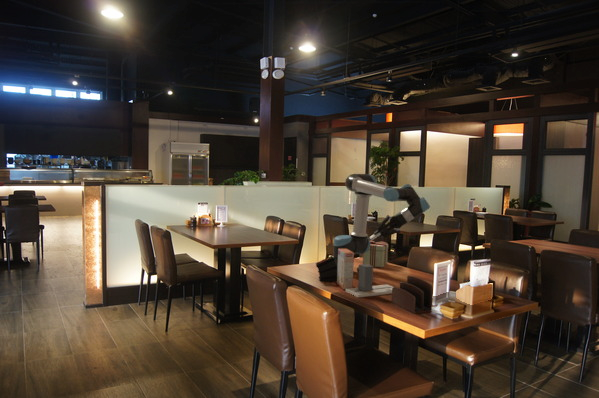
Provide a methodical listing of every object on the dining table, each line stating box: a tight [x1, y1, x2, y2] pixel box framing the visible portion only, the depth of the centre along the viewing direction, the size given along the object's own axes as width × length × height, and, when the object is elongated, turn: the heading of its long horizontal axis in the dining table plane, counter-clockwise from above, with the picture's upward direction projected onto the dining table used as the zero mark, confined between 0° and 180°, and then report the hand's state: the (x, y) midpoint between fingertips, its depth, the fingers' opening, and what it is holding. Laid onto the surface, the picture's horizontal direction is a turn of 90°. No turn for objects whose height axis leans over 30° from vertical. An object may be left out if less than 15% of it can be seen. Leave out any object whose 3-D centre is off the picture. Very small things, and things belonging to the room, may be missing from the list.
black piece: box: [315, 255, 337, 283], centre depth 259 cm, size 4×13×15 cm, turn 99°
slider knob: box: [356, 263, 374, 291], centre depth 235 cm, size 6×6×13 cm
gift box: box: [362, 239, 389, 268], centre depth 310 cm, size 17×18×17 cm
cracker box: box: [336, 249, 355, 291], centre depth 247 cm, size 14×6×21 cm, turn 9°
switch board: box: [345, 283, 394, 298], centre depth 237 cm, size 28×12×2 cm, turn 116°
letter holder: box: [390, 275, 433, 315], centre depth 213 cm, size 10×20×14 cm, turn 20°
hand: (370, 238), depth 257 cm, fingers closed
